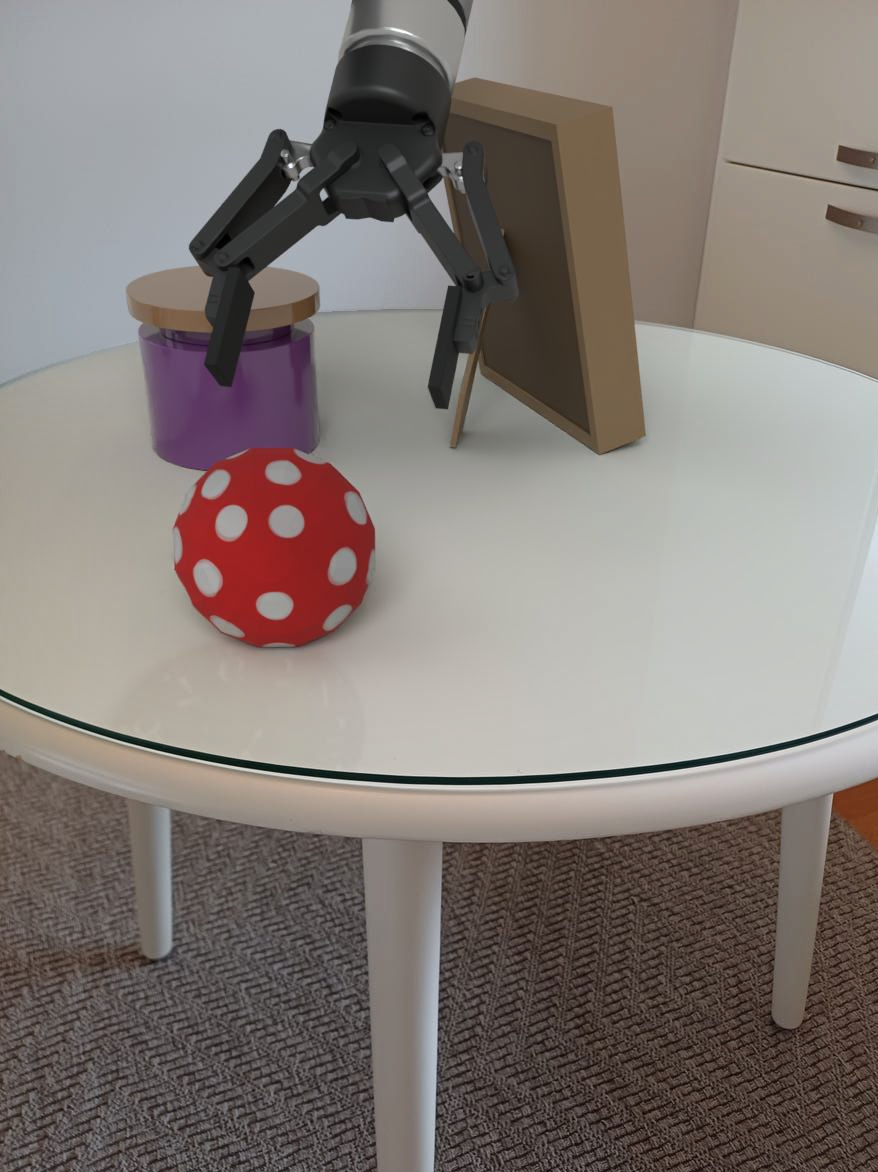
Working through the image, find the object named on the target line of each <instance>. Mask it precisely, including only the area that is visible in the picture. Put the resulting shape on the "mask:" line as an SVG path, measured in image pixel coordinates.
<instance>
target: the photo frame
mask: <svg viewBox="0 0 878 1172" xmlns="http://www.w3.org/2000/svg"><path fill="white" fill-rule="evenodd" d="M616 139H617V138H616V128H615V119H614V109H613V106H610V105H607V104H602V103H601V104H600V103H596V102H592V101H587V100H582V99H579V98H573V97H568V96H563V95H560V94H555V93H550V92H545V91H540V90H535V89H531V88H526V87H522V86H517V85H512V84H507V83H503V82H498V81H494V80H489V79H483V78H478V77H471V78H468V79H464V80H460V81H456V82H455V87H454V91H453V95H452V97H451V108H450V112H449V117H448V122H447V127H446V132H445V136H444V141H443V146H442V149H441V153H452V152H463V149H464V146H465V145H466V144H467V143H469V142H472V141H476V142H479V143H480V144H481V145H482V147H483V152H484V157H485V162H486V168H487V173H488V181H487V191H488V194H489V197H490V200H491V203H492V206H493V208H494V211H495V214H496V217H497V220H498V223H499V226H500V228H501V231H502V234H503V237H504V240H505V243H506V245H507V248H508V251H509V254H510V257H511V260H512V263H513V265H514V269H515V274H516V280H517V285H518V291H519V295H518V298H517V299H516V300H515V301H513V302H510V303H506V302H503V301H502V300H499V301H495V302H492V303H490V304H489V305H487V306H486V308H485V310H484V314H483V319H482V324H481V329H480V335H479V340H478V345H477V348H476V349H475V351H474V352H473V354H468V357H467V361H466V366H465V369H464V375H463V377H462V383H461V386H460V389H459V390H460V391H459V394H458V398H457V399H458V400H457V406H456V410H455V411H456V412H455V416H454V421H453V422H454V423H453V427H452V432H451V438H450V444H449V447H450V448H454V449H456V447H457V445H458V443H459V440H460V438H461V436H462V434H463V431H464V429H465V428H464V427H465V423H466V418H467V415H468V409H469V404H470V400H471V395H472V391H473V386H474V382H475V377H476V372H477V367H479V372H480V375H482V376H483V377H484V376H485V378H486V379H487V380H489V381H490V382H492V383H493V384H494V385H496V386H498V387H499V388H501V390H504V391H505V392H507V393H508V394H509V395H511V396H513V397H514V398H515V399H516V400H518V401H519V402H521V403H522V404H524V405H525V406H527V407H528V408H530V409H531V410H532V411H534V412H536V413H537V414H539V415H540V416H541V417H543V418H544V419H546V420H548V421H549V422H550V423H552V424H553V425H554V426H556V427H558V428H559V429H560V430H562V431H563V432H565V433H567V434H568V435H569V436H571V437H572V438H574V439H575V440H577V441H578V442H580V443H581V444H583V445H584V446H586V447H587V448H589V449H590V450H591V451H593V452H594V453H595V454H597V455H598V456H599V455H602V454H605V453H608V452H610V451H613V450H615V449H617V448H620V447H622V446H625V445H627V444H629V443H632V442H635V441H637V440H640V439H643V438H644V437H647V434H646V424H645V423H646V422H645V413H644V404H643V395H642V394H643V393H642V384H641V375H640V373H641V372H640V364H639V355H638V345H637V344H638V343H637V335H636V326H635V325H636V323H635V314H634V306H633V305H634V304H633V295H632V285H631V276H630V274H631V273H630V266H629V265H630V264H629V255H628V246H627V237H626V226H625V216H624V215H625V214H624V208H623V206H624V205H623V196H622V188H621V187H622V186H621V177H620V168H619V167H620V166H619V157H618V148H617V147H618V146H617V140H616ZM442 180H443V183H444V189H445V194H446V199H447V205H448V210H449V214H450V219H451V226H452V231H453V233H454V234H455V236H456V237H457V239H458V240H459V242H460V243H461V244H462V246H463V247H464V249H465V250H466V252H467V253H468V255H469V256H470V258H471V259H472V260H473V262H474V263H475V265H476V266H477V268H478V266H480V268H481V272H485V271H490V268H489V265H488V262H487V259H486V256H485V253H484V251H483V248H482V245H481V242H480V239H479V236H478V233H477V230H476V227H475V224H474V221H473V219H472V216H471V213H470V209H469V206H468V201H467V197H466V193H465V194H463V193H461V192H460V190H457V189H456V188H455V187H454V185H453V181H452V179H451V178H449V177H447V176H443V178H442Z"/></svg>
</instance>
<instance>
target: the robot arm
mask: <svg viewBox="0 0 878 1172" xmlns="http://www.w3.org/2000/svg"><path fill="white" fill-rule="evenodd" d="M473 4H474V0H351V4H350V10H349V13H348V17H347V21H346V23H345V24H346V25H345V28H344V32H343V36H342V38H341V43H340V46H339V51H338V56H337V64H336V66H335V69H334V72H333V73H334V74H333V77H332V82H331V86H330V90H329V93H328V98H327V102H326V106H325V111H324V116H323V117H324V118H323V124H322V130H321V132H320V133H319V135H318V136H317V137H316V139H314V141H312V143H308V142H303V141H295V140H292V139H291V140H290V138H289V136H288V133H287V131H286V130H284V129H282V128H276V129H273V130H272V131H271V132H269V135H268V136H267V139H266V141H265V145H264V146H263V150H262V152H261V155H260V157H259V159H258V160H257V161H256V162H255V163H254V165H253V166H251V169H249V171H248V172H247V173H246V175H244V176H243V178H242V179H241V180H240V182H239V183H238V184H237V186H236V187H235V188H234V189H233V190H232V192H231V193H230V194H229V195H228V196H227V198H226V199H225V200H224V201H223V202H222V203H221V204H220V206H219V207H218V208H217V209H216V210H215V212H214V213H213V214H212V216H211V217H210V218H209V219H208V220H207V222H205V224H204V225H203V226H202V228H201V229H200V230H199V231H198V232H197V233H196V235H195V236H194V237H193V238H192V240H191V241H190V243H188V250H189V252H190V254H191V256H192V257H193V258H194V260H195V262H196V263H197V266H200V268H201V269H202V271H203V272H204V274H205V275H206V276H209V277H213V279H212V283H211V286H210V290H209V294H208V295H209V296H208V298H207V302H206V306H205V316H206V319H207V320H208V322H209V323H210V324H211V326H212V327H213V330H212V334H211V338H210V342H209V346H208V350H207V354H206V358H205V361H204V365H205V367H206V368H207V369H208V371H209V372H210V373H211V375H212V376H213V377H214V379H215V380H216V381H217V383H218V384H219V385H220V386H226V387H232V383H233V379H234V375H235V371H236V367H237V363H238V359H239V355H240V351H241V347H242V343H243V339H244V335H245V331H246V327H247V323H248V319H249V315H250V311H251V307H252V302H253V298H254V294H255V292H254V290H253V289H252V287H251V285H250V284H249V282H248V281H249V280H251V279H252V278H253V277H254V276H256V275H257V274H258V273H259V272H261V271H262V270H263V269H264V268H266V267H269V265H271V264H272V263H273V262H275V261H276V260H277V259H278V258H280V257H281V256H282V255H284V254H285V253H286V252H287V251H288V250H289V249H290V248H292V247H293V246H294V245H296V244H297V243H298V242H299V241H301V240H302V239H303V238H305V236H307V235H308V234H309V233H311V232H312V231H313V230H314V229H316V228H317V227H326V226H327V225H329V224H330V223H331V222H332V221H334V220H335V219H337V217H339V216H340V215H341V214H342V215H343V216H344V218H345V219H346V220H356V221H357V220H358V221H359V220H364V219H373V220H376V221H379V222H384V223H394V222H395V219H398V218H400V217H402V216H406V217H407V219H408V220H409V222H410V223H411V225H412V226H413V227H414V229H415V230H416V232H417V233H418V234H420V235H421V236H422V238H423V240H424V241H425V242H426V244H427V245H428V247H429V248H430V250H431V251H432V253H433V254H434V256H435V257H436V259H437V260H438V262H439V264H440V265H441V266H442V268H443V270H444V271H445V272H446V273H447V275H448V277H449V278H450V280H451V281H452V283H453V285H447V287H446V288H447V289H446V294H445V299H444V304H443V309H442V314H441V318H440V324H439V329H438V334H437V339H436V343H435V349H434V353H433V358H432V363H431V368H430V372H429V378H428V382H427V389H428V392H429V395H430V397H431V399H432V402H433V405H434V408H435V409H440V410H449V406H450V401H451V396H452V391H453V387H454V381H455V376H456V371H457V365H458V361H459V356H460V354H464V355H465V354H466V355H469V354H473V352H474V351H475V349H476V348H477V345H478V340H479V335H480V329H481V324H482V319H483V314H484V310H485V308H486V306H487V305H489V304H490V303H492V302H495V301H499V300H502V301H503V302H506V303H510V302H513V301H515V300H516V299H517V298H518V295H519V291H518V285H517V280H516V274H515V269H514V265H513V263H512V260H511V257H510V254H509V251H508V248H507V245H506V243H505V240H504V237H503V234H502V231H501V228H500V226H499V223H498V220H497V217H496V214H495V211H494V208H493V206H492V203H491V200H490V197H489V194H488V191H487V181H488V173H487V168H486V162H485V157H484V152H483V147H482V145H481V144H480V143H479V142H476V141H472V142H469V143H467V144H466V145H465V146H464V149H463V152H452V153H441V149H442V146H443V141H444V136H445V132H446V127H447V122H448V117H449V112H450V108H451V97H452V95H453V91H454V87H455V83H457V77H458V72H459V68H460V64H461V59H462V55H463V51H464V45H465V42H466V41H465V40H466V34H467V31H468V25H469V22H470V18H471V12H472V8H473ZM307 168H312V169H310V170H309V171H307V173H304V175H303V176H301V175H300V174H301V173H302V171H303V170H305V169H307ZM443 176H447V177H449V178H451V179H452V181H453V185H454V187H455V188H456V189H457V190H460V192H461V193H463V194H465V193H466V197H467V201H468V206H469V209H470V213H471V216H472V219H473V221H474V224H475V227H476V230H477V233H478V236H479V239H480V242H481V245H482V248H483V251H484V253H485V256H486V259H487V262H488V265H489V268H490V271H485V272H481V268H480V266H478V268H477V266H476V265H475V263H474V262H473V260H472V259H471V258H470V256H469V255H468V253H467V252H466V250H465V249H464V247H463V246H462V244H461V243H460V242H459V240H458V239H457V237H456V236H455V234H454V231H453V229H451V227H450V225H449V224H448V223H447V221H446V220H445V218H444V217H443V215H442V214H441V213H440V211H439V209H438V208H437V206H436V205H435V203H434V202H433V201H432V200H431V199H432V198H430V195H429V193H430V192H431V191H432V190H433V189H434V188H435V187H437V185H438V184H439V183H440V182H442V180H443ZM292 182H297V183H296V187H295V189H293V191H292V192H290V193H289V194H288V195H286V197H284V195H285V194H286V192H287V190H288V188H289V187H290V185H291V183H292ZM323 190H324V192H325V194H326V195H327V197H326V198H324V199H323V200H322V197H321V192H322V191H323ZM282 197H284V198H283V199H282Z"/></svg>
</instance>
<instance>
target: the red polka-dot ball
mask: <svg viewBox="0 0 878 1172" xmlns="http://www.w3.org/2000/svg"><path fill="white" fill-rule="evenodd" d="M172 543H173V547H172V548H173V565H174V571H175V573H176V576H177V578H178V580H179V582H180V584H181V586H182V589H183V590H184V593H185V595H186V597H187V599H188V601H189V603H190V605H191V607H193V608H194V609H195V610H196V611H197V612H198V613H199V614H200V615H201V616H202V617H203V618H204V619H205V620H207V621H208V622H209V623H210V624H211V625H212V626H213V627H214V628H215V629H217V630H218V631H219V632H220V634H223V635H226V636H228V637H232V638H233V639H236V640H239V641H242V642H244V643H247V644H249V645H252V646H255V647H256V648H257V647H258V648H281V647H282V648H283V647H285V648H290V647H293V648H295V647H301V646H302V645H305V644H307V643H310V642H312V641H314V640H317V639H319V638H321V637H324V636H327V635H329V634H331V633H333V632H335V631H336V630H338V628H339V627H340V626H341V625H342V624H343V623H344V622H345V621H346V620H347V619H348V618H349V617H350V616H351V615H352V614H353V613H354V612H355V611H356V610H357V609H358V608H359V607H360V606H361V605H362V602H363V600H364V598H365V595H366V593H367V590H368V587H369V586H370V583H371V580H372V578H373V576H374V573H375V570H376V567H377V566H376V528H375V525H374V523H373V520H372V518H371V515H370V514H369V511H368V509H367V507H366V504H365V502H364V500H363V498H362V495H361V493H360V491H359V490H358V489H357V488H356V487H355V486H354V485H353V484H352V483H351V482H350V481H349V480H348V479H347V478H346V477H345V476H344V475H343V474H342V473H341V472H340V471H339V470H338V469H337V468H336V467H335V466H334V465H333V464H331V462H328V461H326V460H323V459H321V458H319V457H316V456H313V455H311V454H310V453H309V454H306V453H304V452H301V451H299V450H297V449H294V448H250V449H248V450H245V451H243V452H240V453H238V454H236V455H233V456H231V457H228V458H226V459H224V460H221V461H219V462H216V463H214V464H213V465H212V466H211V467H210V468H209V469H208V471H207V470H206V471H205V472H204V474H202V476H201V477H200V478H199V479H197V480H196V481H195V482H194V484H193V485H192V486H191V487H190V488H189V489H188V490H187V491H186V493H185V495H184V498H183V501H182V504H181V506H180V509H179V512H178V513H177V517H176V519H175V523H174V525H173V528H172Z"/></svg>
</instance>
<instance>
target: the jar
mask: <svg viewBox="0 0 878 1172" xmlns="http://www.w3.org/2000/svg"><path fill="white" fill-rule="evenodd" d="M212 279H213V277H209V276H206V275H205V274H204V272H203V271H202V269H201V268H200V266H199V265H191V266H184V267H183V266H182V267H175V268H170V269H165V270H164V269H163V270H160V271H155V272H151V273H148V274H145V275H142V276H139V277H137V278H135V279H133V280H131V281H130V282H129V283H128V284H127V286H126V287H125V297H126V306H127V310H128V313H129V315H130V316H131V317H132V318H133V319H135V320H136V321H138V322H140V323H141V324H140V325H139V326H138V329H137V336H138V337H137V338H138V343H139V352H140V359H141V360H140V361H141V367H142V375H143V383H144V391H145V397H146V399H145V400H146V407H147V415H148V424H149V430H150V438H151V447H152V449H153V452H154V453H156V455H157V456H159V458H161V459H162V460H165V461H166V462H169V463H171V464H173V465H176V466H181V467H183V468H188V469H193V470H199V471H206V472H207V471H208V469H209V468H210V467H211V466H212V465H213V464H214V463H216V462H219V461H221V460H224V459H226V458H228V457H231V456H233V455H236V454H238V453H240V452H243V451H245V450H248V449H250V448H294V449H297V450H299V451H301V452H304V453H306V454H309V455H310V453H311V452H313V451H314V450H315V449H316V448H317V447H318V445H319V442H320V438H321V437H320V436H321V435H320V418H319V417H320V416H319V415H320V414H319V394H318V393H319V392H318V391H319V390H318V372H317V371H318V370H317V349H316V326H315V324H314V322H313V321H312V320H311V319H310V318H312V317H313V316H315V315H316V314H317V313H318V312H319V311H320V308H321V290H320V288H321V287H320V284H319V282H318V281H317V280H316V279H315V278H313V277H311V276H310V275H307V274H304V273H302V272H299V271H295V270H291V269H286V268H281V267H274V266H267V267H266V268H264V269H263V270H262V271H261V272H259V273H258V274H257V275H256V276H254V277H253V278H252V279H251V280H249V281H248V282H249V284H250V285H251V287H252V289H253V290H254V292H255V294H254V298H253V302H252V307H251V311H250V315H249V319H248V323H247V327H246V331H245V335H244V339H243V343H242V347H241V351H240V355H239V359H238V363H237V367H236V371H235V375H234V379H233V383H232V387H226V386H220V385H219V384H218V383H217V381H216V380H215V379H214V377H213V376H212V375H211V373H210V372H209V371H208V369H207V368H206V367H205V365H204V361H205V358H206V354H207V350H208V346H209V342H210V338H211V334H212V330H213V327H212V326H211V324H210V323H209V322H208V320H207V319H206V316H205V306H206V302H207V298H208V296H209V295H208V294H209V290H210V286H211V283H212Z"/></svg>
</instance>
